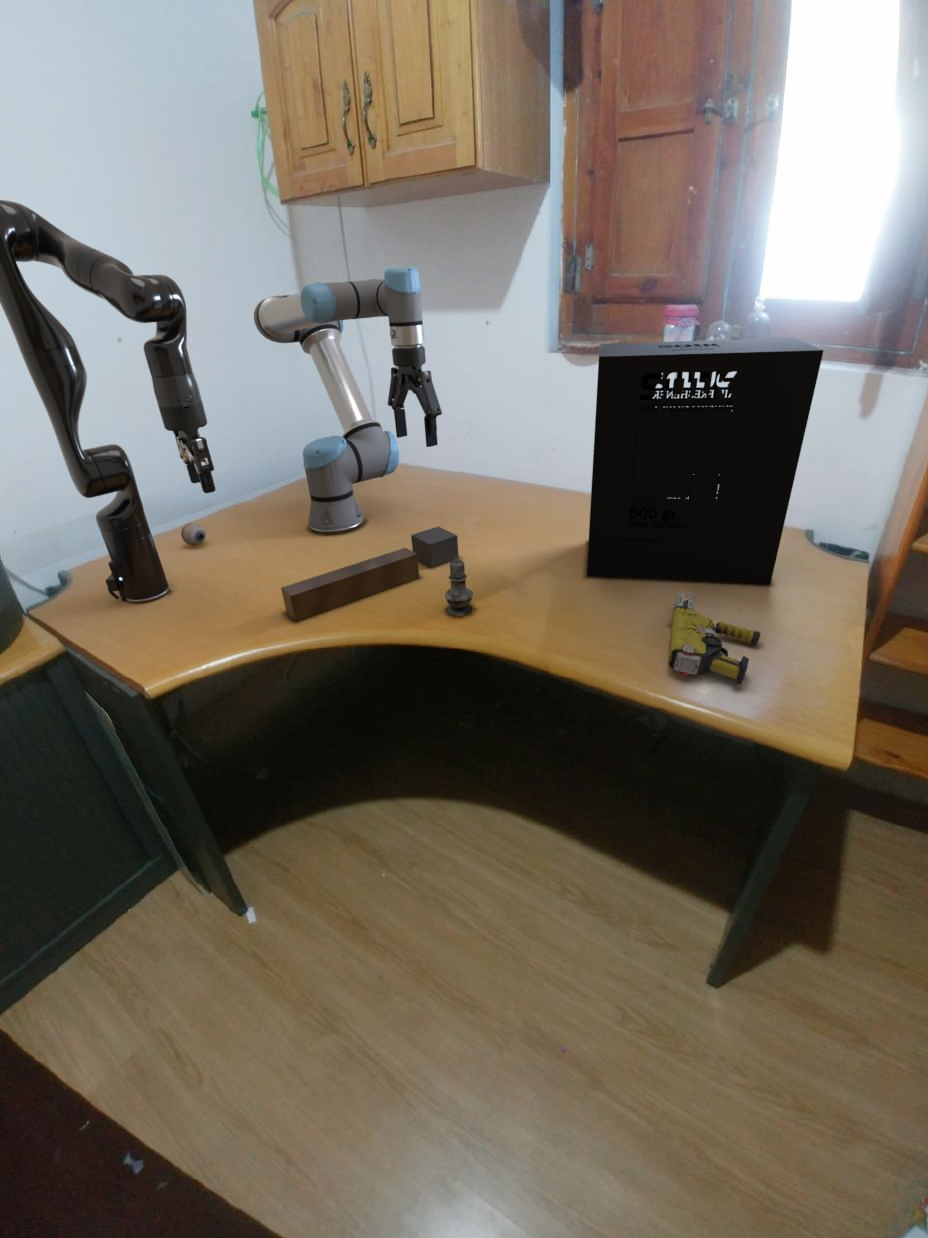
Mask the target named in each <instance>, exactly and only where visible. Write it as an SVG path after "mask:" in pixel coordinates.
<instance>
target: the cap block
mask: <svg viewBox="0 0 928 1238" xmlns="http://www.w3.org/2000/svg"><path fill="white" fill-rule="evenodd" d="M410 537H411V539H410V540H411V548H412V551H413V552H414V553H416V554H417V558H418V562H421V563H422V564H424V565H426V566H427V567H429V568H430V569H432V568H435V567H438V566H441V565H444V564H446V563H450V562H451V561H453V560H455V557H456V556H457V557H458V559H459V558H460V557H459V541H458V540H459V539H458V534H456V533H453V532H452V531H449V530H447V529H445V528H443V527H440V525H439V526H435V527H432V528H429V529H426V530H422V531H419V532H416V533H412V534H411V536H410Z"/></svg>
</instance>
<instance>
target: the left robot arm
mask: <svg viewBox="0 0 928 1238" xmlns="http://www.w3.org/2000/svg"><path fill="white" fill-rule="evenodd" d="M31 262H35V263H36V262H38V263H42V264H45V265H51V266H52V267H53V266H54V267H56V268H58V269H60V270H61V271H62V272H63V274H64V275H65V277H66V279H68V280H69V281H70V282H71V283H73V284H74V285H75V286H77V287H78V288H80V289H82V290H83V291H85V292H87V293H89V294H91V295H94V296H96V297H98V298H99V299H101V300H104V301H106V302H107V303H108V304H109V305H110V306H111V307H112V308H114V309H115V310H116V311H117V312H118V313H119V314H121V315H122V316H123V317H125V318H126V319H128V320H130V321H132V322H136V323H140V324H153V323H155V334H154V336H153V337H151V338H148V339H147V340H146V341H145V342H144V343H143V353H144V356H145V361H146V364H147V367H148V370H149V374H150V378H151V380H152V381H151V382H152V389H153V392H154V397H155V400H156V403H157V406H158V411H159V413H160V416H161V420H162V424H163V427H164V429H165V430H166V431H169V432H173V435H174V437H175V442H176V445H177V449H178V453H179V457H180V458H181V460H182V462H183V463H184V465H185V467H186V470H187V473H188V477H189V481H190V482H191V483H192V484H198V483H200V486H201V490H202V492H203V493H204V494H211V493H214V492H216V491H217V490H216V485H215V482H214V478H213V475H212V472H213V471H215V466H214V464H213V463H214V462H213V460H212V456H211V453H210V449H209V445H208V440H207V438H206V437H204V436H201V435H200V433H199V428H204V427H205V426H207V424H208V418H207V415H206V411H205V406H204V403H203V400H202V395H201V391H200V388H199V385H198V381H197V379H196V377H195V374H194V372H193V371H194V370H193V367H192V363H191V359H190V355H189V351H188V321H187V319H188V318H187V317H188V316H187V315H188V314H187V303H186V300H185V295H184V294H183V292H182V290H181V288H180V286H179V285H178V284H177V282H176V281H175V280H174V279H173V278H171V277H170V276H167V275H165V274H139V275H137V274H134V272H133V271H132V269H131V268H130V267H129V266H128V265H127V264H126V263H124V262H123V261H121V260H120V259H118V258H117V257H114V256H112V255H109V254H107V253H105V252H103V251H101V250H98V249H96V248H94V247H92V246H90V245H87V244H86V243H83V242H81V241H79V240H78V239H76V238H74V237H72V236H70V235H69V234H67V232H64V231H63V230H62V229H60V228H58V227H57V226H56V225H54V224H52V222H50V221H49V220H47V219H46V218H44V217H43V216H41V215H40V214H39V213H37V212H36V211H34V210H33V209H31V208H30V207H28V206H26V205H23V204H22V203H20V202H15V201H12V200H4V199H0V307H1V309H2V310H3V312H4V315H5V317H6V319H7V322H8V323H9V324H8V325H9V326H10V329H11V331H12V333H13V336H14V339H15V341H16V343H17V347H18V349H19V352H20V354H21V356H22V359H23V362H24V364H25V366H26V369H27V371H28V373H29V375H30V377H31V380H32V382H33V385H34V386H35V389H36V391H37V394H38V395H39V397H40V399H41V402H42V404H43V407H44V408H45V411H46V413H47V416H48V418H49V420H50V421H49V422H50V423H51V426H52V429H53V431H54V434H55V437H56V440H57V443H58V446H59V448H60V452H61V455H62V457H63V460H64V463H65V466H66V468H67V472H68V474H69V477H70V479H71V482H72V483H73V485H74V487H75V489H76V490H77V492H78V493H79V494H80V495H81V496H82V497H83V498H86V499H92V498H96V497H100V496H105V495H109V494H112V493H116V494H115V496H114V498H113V499H112V500H111V501H110V502H109V503H108V504H106V505H105V506H104V507H102V508H101V509H99V511H97V513H96V514H95V521H96V524H97V527H98V528H99V532H100V534H101V537H102V540H103V542H104V545H105V547H106V551H107V553H108V555H109V558H110V560H109V561H108V562H107V564H108V567H109V570H110V575H109V576H108V577H107V578H106V579H105V583H106V586H107V592H108V593H109V594H110V595H111V597H113V598H114V599H115V600H118V599H121V602H123V603H126V602H127V603H131V604H143V603H144V604H145V603H149V602H153V601H156V600H158V599H159V600H160V599H161V598H163V597H164V596H166V595H167V594H169V592H170V591H171V587H170V584H169V582H168V578H167V577H166V573H165V570H164V568H163V564H162V561H161V557H160V555H159V552H158V550H157V549H158V548H157V546H156V544H155V540H154V538H153V534H152V532H151V529H150V525H149V523H148V522H149V521H148V519H147V516H146V513H145V509H144V505H143V502H142V501H143V500H142V498H141V494H140V491H139V488H138V485H137V480H136V477H135V472H134V469H133V466H132V463H131V460H130V458H129V456H128V454H127V452H126V451H125V450H124V449H123V447H122V446H120V445H119V444H117V443H109V444H104V445H100V446H95V447H90V448H85V449H83V448H82V444H81V440H80V433H79V432H80V431H79V423H80V414H81V409H82V406H83V405H82V404H83V401H84V398H85V394H86V390H87V384H88V374H87V370H86V367H85V364H84V361H83V359H82V357H81V356H82V355H81V354H80V351H79V349H78V346H77V344H76V341H75V339H74V338H73V336H72V335H71V333H70V331H69V330H68V329H67V328H66V327H65V325H63V323H61V321H60V320H59V319H58V318H57V317H56V316H55V315H54V314H53V313H52V312H51V311H50V310H49V309H48V308H47V307H46V306H45V305H44V304H43V303H42V301H40V300H39V299H38V298H37V296H36V295H35V294H34V292H32V289H30V287H29V285H28V283H27V282H26V280H25V278H24V277H23V274H22V272H21V270H20V268H19V266H18V263H31ZM202 463H204V464H203V465H202ZM115 592H118V594H119V596H120V597H119V596H118V595H117V594H116V593H115Z"/></svg>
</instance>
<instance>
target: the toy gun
mask: <svg viewBox="0 0 928 1238" xmlns="http://www.w3.org/2000/svg"><path fill="white" fill-rule="evenodd" d="M684 598H687V599H684ZM674 600H675V601H674V603H673V613H672V617H671V621H670V623H671V624H670V633H669V644H668V655H667V667H668V669H670V670H673V671H675V672H676V674H677V675H683V676H685V677H688V676H689V675H694V676H699V675H704V674H705V673H707V672H708V671H712V672H714V673H717V674H721V675H724V676H726V677H729V678H732V679H734V680H736V684H737V686H742V685H743V682H744V679H745V676H746V673H747V671H748V670H747V669H748V668H749V667H748V666H749V662H750V658H749V657H746V656H745V655H743V656H742V657H741V659H740V660H738V659H736V658H732V657H730V656H729V651H728V650H727V648H724V647H723V641H722V640H721V638H719V637H718V635H720V636H721V635H723V636H724V637H727V638H728V637H729V638H730V637H731V638H732V639H733V640H737V639H738V640H739V641H740V642H746V643H747V644H751V645H752V646H758V644H759V641H760V638H761V632H760V631H758V630H753V629H750V630H748V628H746V627H742V628H741V626H739V625H732V624H731V623H726V622H724V621H722V620H721V621H718V622H716V624H715V623H714V621H713V619H712V618H711V617H709V616H705V615H702V614H699V613H696V611H695V610H694V609H695V595H694V594H693V593H690V592H688V593H687V595H685V592H683V591H679V592H677V593H676V595H675V599H674Z"/></svg>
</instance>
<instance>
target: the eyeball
mask: <svg viewBox="0 0 928 1238" xmlns="http://www.w3.org/2000/svg"><path fill="white" fill-rule="evenodd" d="M180 536H181V539H182V540H183V542H184V543H185V544H187V545H188V546H191V547H195V546H200V545H201V544H203V543H204V541H206V537H207V533H206V530H205V528H204V527H203V526H202V525H201V524H198V523H197V522H189V523H187V524H185V525H184V526H183V527H182V528H181V532H180Z"/></svg>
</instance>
